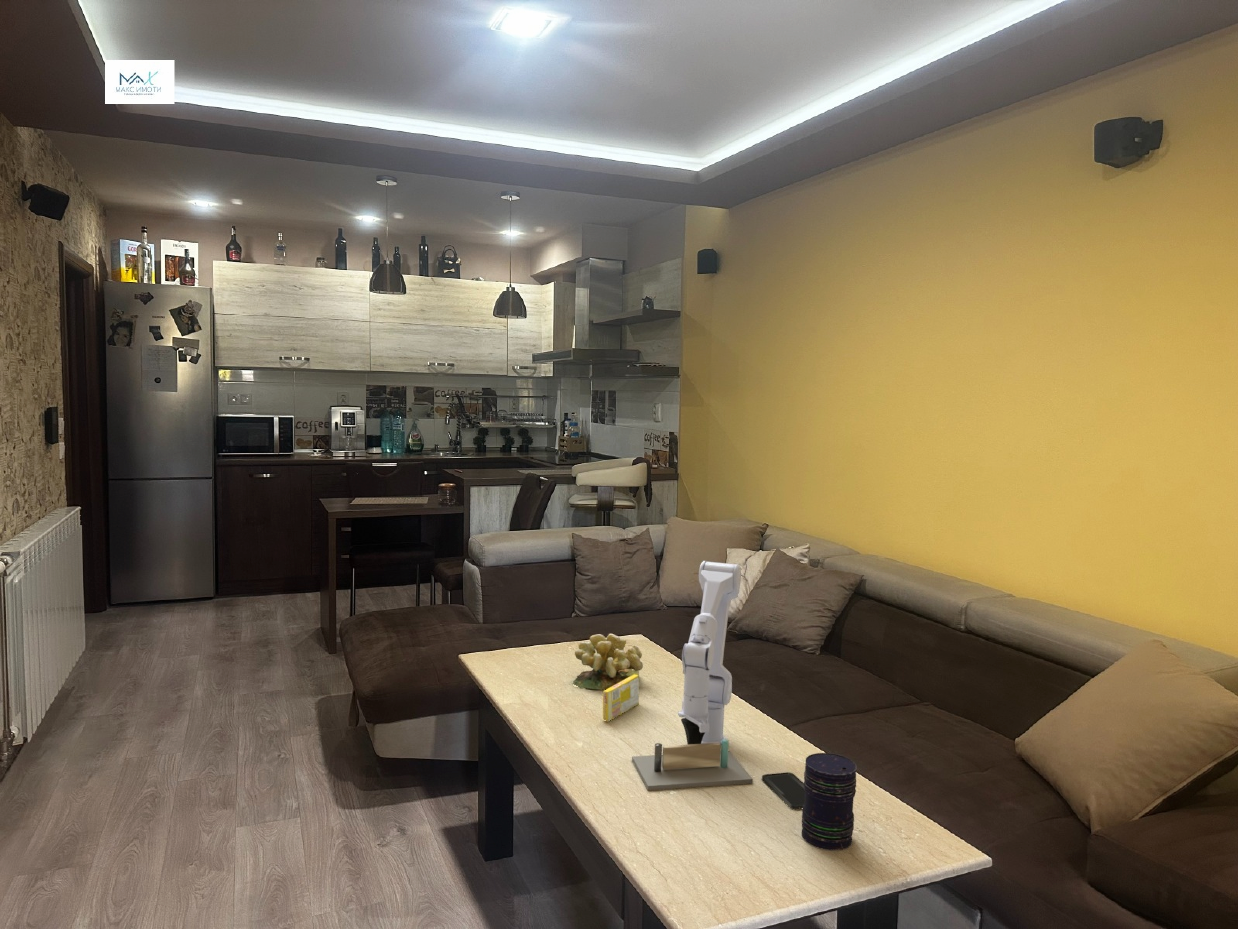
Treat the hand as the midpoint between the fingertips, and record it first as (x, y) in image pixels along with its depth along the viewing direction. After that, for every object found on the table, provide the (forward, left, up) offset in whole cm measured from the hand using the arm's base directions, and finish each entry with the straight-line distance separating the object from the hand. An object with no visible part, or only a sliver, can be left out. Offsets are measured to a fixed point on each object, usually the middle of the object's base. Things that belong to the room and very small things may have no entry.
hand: (693, 750), depth 195 cm
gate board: (+4, -2, -3) cm, 6 cm away
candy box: (-33, -10, -3) cm, 35 cm away
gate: (+5, -2, -2) cm, 6 cm away
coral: (-58, -9, -3) cm, 59 cm away
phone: (+17, +17, -3) cm, 24 cm away
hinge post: (+5, -10, -3) cm, 11 cm away
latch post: (+5, +6, -3) cm, 8 cm away
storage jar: (+36, +16, -3) cm, 39 cm away
